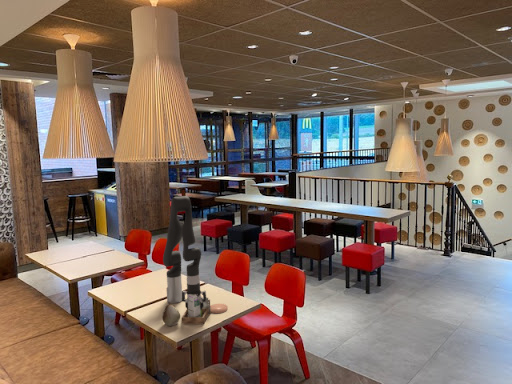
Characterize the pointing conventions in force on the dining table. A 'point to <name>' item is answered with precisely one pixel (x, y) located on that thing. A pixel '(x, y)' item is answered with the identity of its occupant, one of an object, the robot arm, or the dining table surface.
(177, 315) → the fruit
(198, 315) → the syrup box
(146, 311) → the dining table surface
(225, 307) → the saucer
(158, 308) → the dining table surface
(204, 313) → the frame
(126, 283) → the dining table surface
